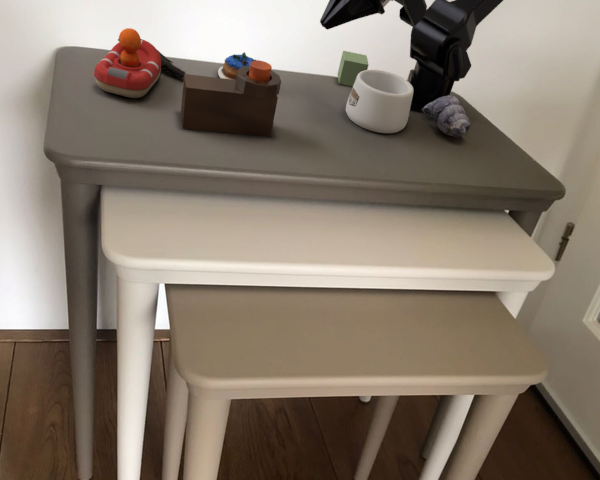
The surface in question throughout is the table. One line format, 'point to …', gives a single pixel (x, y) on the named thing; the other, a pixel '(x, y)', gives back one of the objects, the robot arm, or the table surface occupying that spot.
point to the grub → (448, 115)
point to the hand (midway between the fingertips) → (323, 25)
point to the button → (260, 70)
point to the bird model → (170, 67)
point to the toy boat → (129, 66)
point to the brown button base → (230, 103)
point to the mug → (380, 101)
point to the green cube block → (351, 67)
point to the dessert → (234, 66)
